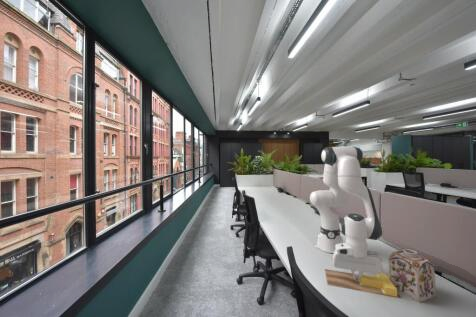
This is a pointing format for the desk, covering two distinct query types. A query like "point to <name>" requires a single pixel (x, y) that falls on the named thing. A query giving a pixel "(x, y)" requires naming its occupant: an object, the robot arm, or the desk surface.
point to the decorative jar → (412, 274)
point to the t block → (379, 283)
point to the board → (351, 282)
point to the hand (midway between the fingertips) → (356, 279)
